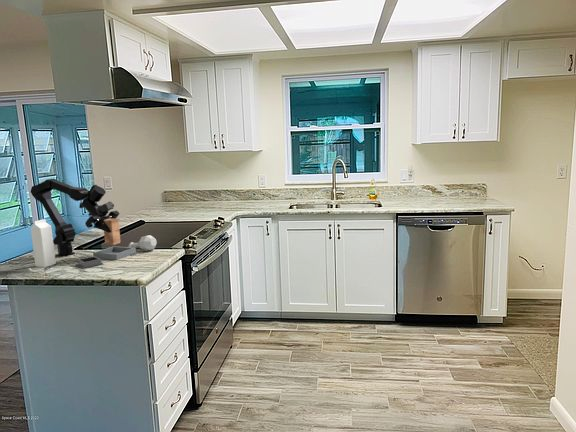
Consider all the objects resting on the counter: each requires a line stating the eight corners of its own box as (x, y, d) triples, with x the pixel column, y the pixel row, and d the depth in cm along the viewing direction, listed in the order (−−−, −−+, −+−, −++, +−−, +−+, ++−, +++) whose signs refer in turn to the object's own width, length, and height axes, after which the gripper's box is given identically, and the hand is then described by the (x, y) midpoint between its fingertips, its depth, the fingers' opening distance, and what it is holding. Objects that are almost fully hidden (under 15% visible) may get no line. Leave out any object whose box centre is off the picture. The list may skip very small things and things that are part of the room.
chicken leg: (138, 247, 238) (130, 235, 235) (162, 243, 229) (154, 231, 226) (129, 256, 232) (120, 244, 228) (153, 253, 223) (144, 240, 220)
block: (105, 244, 211) (102, 220, 209) (112, 242, 216) (109, 218, 214) (113, 244, 210) (111, 220, 208) (120, 242, 214) (118, 218, 212)
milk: (35, 268, 199) (29, 221, 196) (46, 264, 205) (40, 218, 202) (45, 268, 198) (39, 221, 194) (56, 265, 203) (50, 219, 200)
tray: (93, 259, 211) (93, 252, 210) (113, 252, 224) (113, 246, 223) (117, 261, 206) (116, 254, 206) (136, 254, 219) (135, 247, 219)
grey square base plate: (74, 266, 199) (73, 259, 199) (96, 262, 206) (95, 255, 206) (82, 270, 192) (81, 263, 192) (104, 265, 199) (104, 259, 198)
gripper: (87, 199, 201) (109, 223, 200) (114, 194, 219) (134, 216, 217) (75, 215, 205) (97, 239, 204) (103, 209, 223) (123, 231, 221)
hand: (114, 231), depth 211 cm, fingers closed on block, 5 cm apart
